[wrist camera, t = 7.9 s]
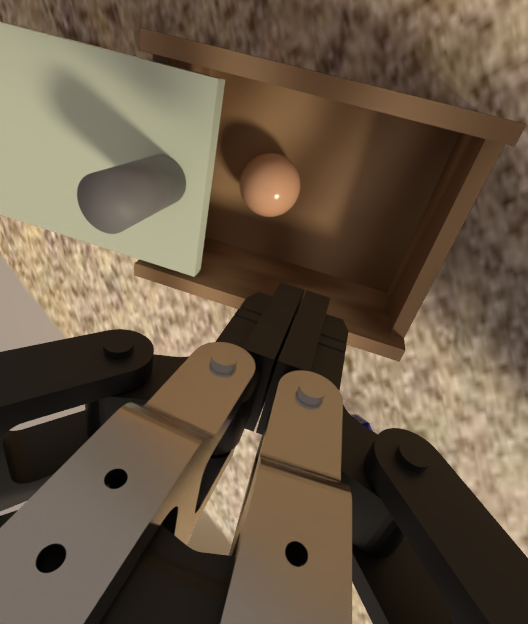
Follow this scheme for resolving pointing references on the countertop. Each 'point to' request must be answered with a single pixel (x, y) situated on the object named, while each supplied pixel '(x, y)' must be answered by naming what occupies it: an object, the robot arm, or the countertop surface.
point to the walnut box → (334, 190)
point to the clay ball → (270, 184)
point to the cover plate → (107, 146)
